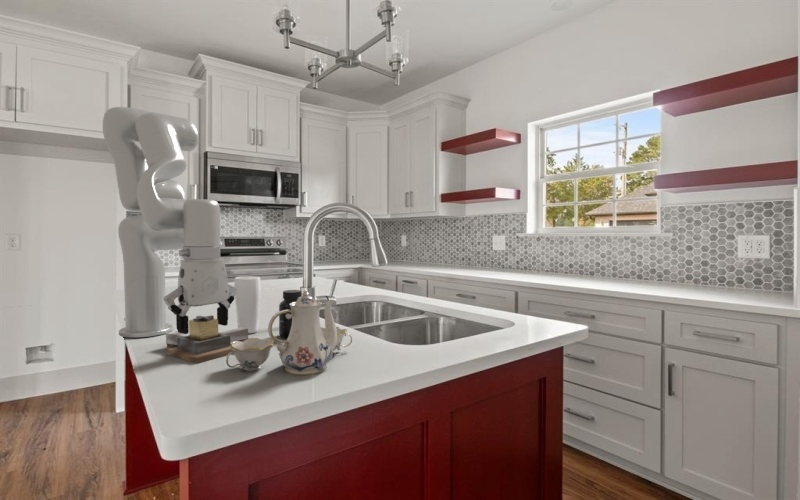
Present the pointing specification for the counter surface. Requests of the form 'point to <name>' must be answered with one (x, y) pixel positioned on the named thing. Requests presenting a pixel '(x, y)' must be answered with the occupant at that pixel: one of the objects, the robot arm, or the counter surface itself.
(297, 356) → the chinaware
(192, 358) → the shaft rig
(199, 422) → the counter surface
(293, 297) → the supplement bottle
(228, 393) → the counter surface
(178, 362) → the counter surface
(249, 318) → the drinking glass
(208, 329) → the block
